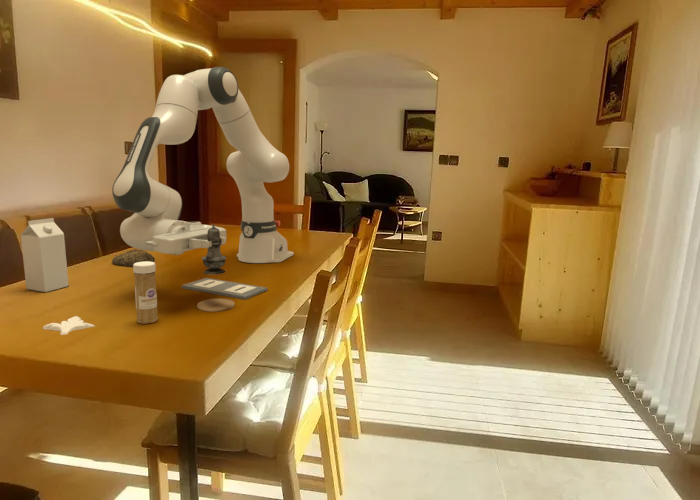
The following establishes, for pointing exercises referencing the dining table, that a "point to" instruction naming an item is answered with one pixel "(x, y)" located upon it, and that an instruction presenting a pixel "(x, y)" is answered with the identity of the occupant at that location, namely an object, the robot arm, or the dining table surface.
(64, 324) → the acanthus leaf ornament
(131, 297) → the dining table surface
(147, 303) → the sprinkles bottle
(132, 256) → the bread roll
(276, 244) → the robot arm
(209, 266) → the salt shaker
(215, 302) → the coaster
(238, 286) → the label board
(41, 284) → the milk carton
